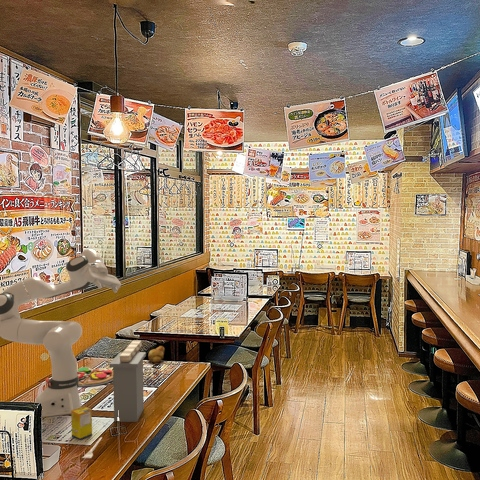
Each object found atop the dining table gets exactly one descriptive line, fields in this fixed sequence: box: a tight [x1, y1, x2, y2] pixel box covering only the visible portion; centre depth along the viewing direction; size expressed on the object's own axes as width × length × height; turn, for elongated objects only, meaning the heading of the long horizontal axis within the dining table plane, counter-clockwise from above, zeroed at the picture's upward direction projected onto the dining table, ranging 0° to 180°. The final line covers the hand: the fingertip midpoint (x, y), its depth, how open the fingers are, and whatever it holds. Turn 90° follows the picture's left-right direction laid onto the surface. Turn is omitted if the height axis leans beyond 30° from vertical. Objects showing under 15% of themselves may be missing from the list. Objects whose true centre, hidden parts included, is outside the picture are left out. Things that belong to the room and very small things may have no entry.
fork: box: [80, 436, 103, 459], centre depth 196 cm, size 3×20×2 cm, turn 177°
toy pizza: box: [77, 366, 113, 388], centre depth 279 cm, size 28×28×4 cm
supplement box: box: [70, 405, 93, 441], centre depth 207 cm, size 6×6×11 cm
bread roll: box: [147, 345, 165, 364], centre depth 312 cm, size 13×10×8 cm
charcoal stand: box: [108, 351, 147, 423], centre depth 228 cm, size 18×12×26 cm, turn 179°
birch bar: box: [120, 339, 143, 362], centre depth 233 cm, size 26×4×3 cm, turn 179°
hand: (108, 289), depth 254 cm, fingers open, 8 cm apart
